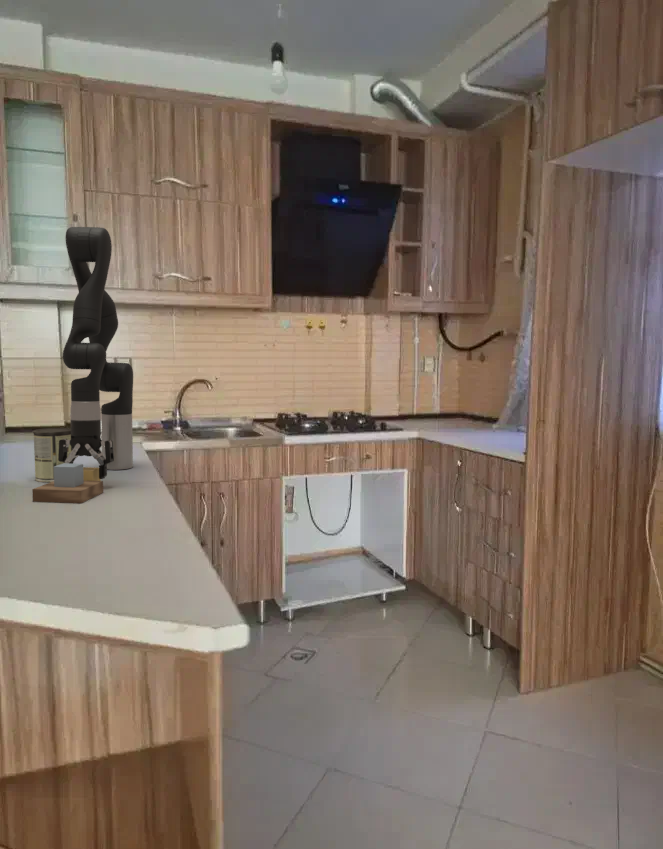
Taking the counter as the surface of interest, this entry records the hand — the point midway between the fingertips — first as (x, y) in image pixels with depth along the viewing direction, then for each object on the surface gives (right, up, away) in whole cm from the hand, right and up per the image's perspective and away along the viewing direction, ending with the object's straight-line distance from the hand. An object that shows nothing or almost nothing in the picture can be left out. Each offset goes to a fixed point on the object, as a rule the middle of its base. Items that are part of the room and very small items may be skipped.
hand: (86, 478), depth 162 cm
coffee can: (-13, -1, +10) cm, 17 cm away
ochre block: (0, -3, +1) cm, 3 cm away
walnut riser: (0, -4, -11) cm, 12 cm away
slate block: (0, -1, -12) cm, 12 cm away
